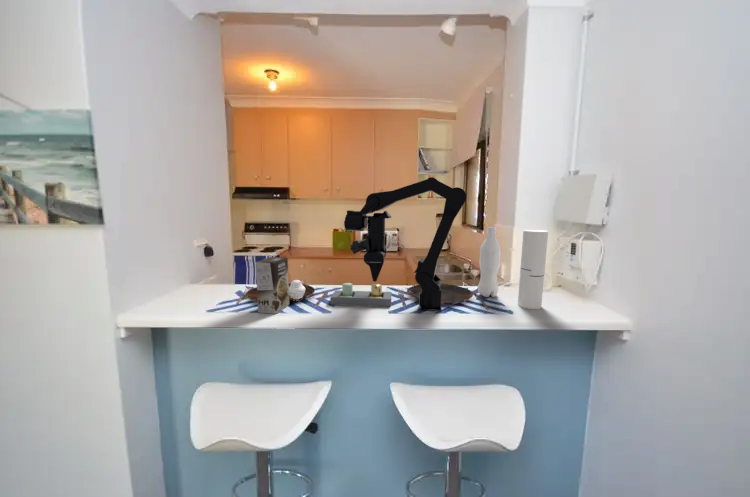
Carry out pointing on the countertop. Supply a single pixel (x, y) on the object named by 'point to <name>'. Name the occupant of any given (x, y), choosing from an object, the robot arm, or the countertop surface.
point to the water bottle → (489, 264)
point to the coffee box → (272, 284)
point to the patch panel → (360, 299)
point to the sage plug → (347, 289)
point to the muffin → (296, 289)
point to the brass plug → (376, 290)
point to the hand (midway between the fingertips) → (375, 277)
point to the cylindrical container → (532, 268)
